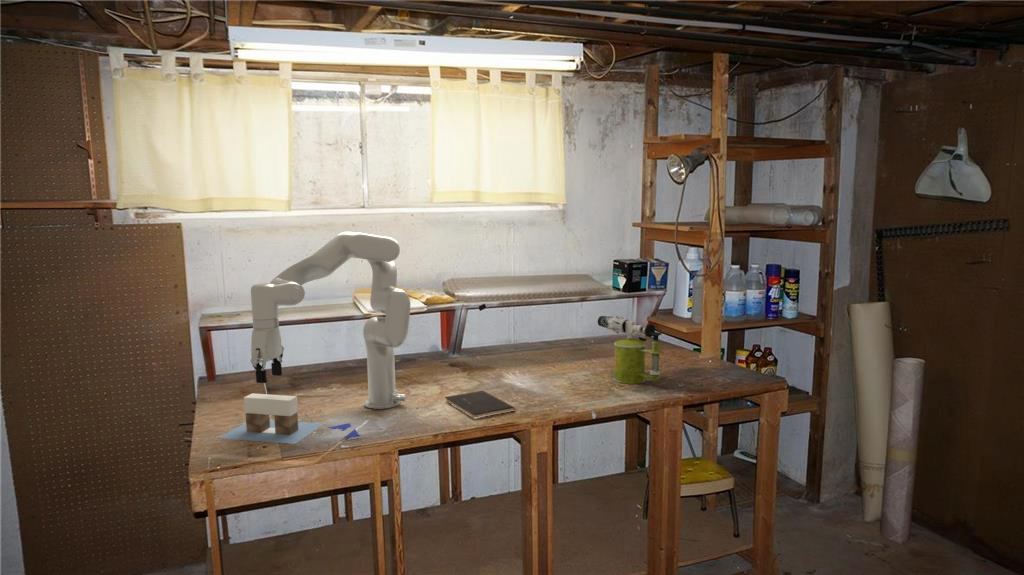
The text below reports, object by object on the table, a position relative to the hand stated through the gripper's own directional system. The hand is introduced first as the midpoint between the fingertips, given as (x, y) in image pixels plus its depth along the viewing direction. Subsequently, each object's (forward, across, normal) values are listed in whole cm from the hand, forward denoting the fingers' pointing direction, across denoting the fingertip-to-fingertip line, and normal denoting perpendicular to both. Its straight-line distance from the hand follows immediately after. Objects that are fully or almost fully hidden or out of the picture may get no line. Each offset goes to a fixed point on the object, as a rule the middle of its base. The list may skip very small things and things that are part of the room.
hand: (269, 378), depth 212 cm
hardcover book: (+19, -39, +57) cm, 71 cm away
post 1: (+17, 0, -5) cm, 18 cm away
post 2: (+17, 0, +5) cm, 18 cm away
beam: (+11, 0, 0) cm, 11 cm away
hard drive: (+19, -4, +22) cm, 29 cm away
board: (+18, 0, 0) cm, 18 cm away
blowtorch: (+18, -83, +107) cm, 137 cm away
